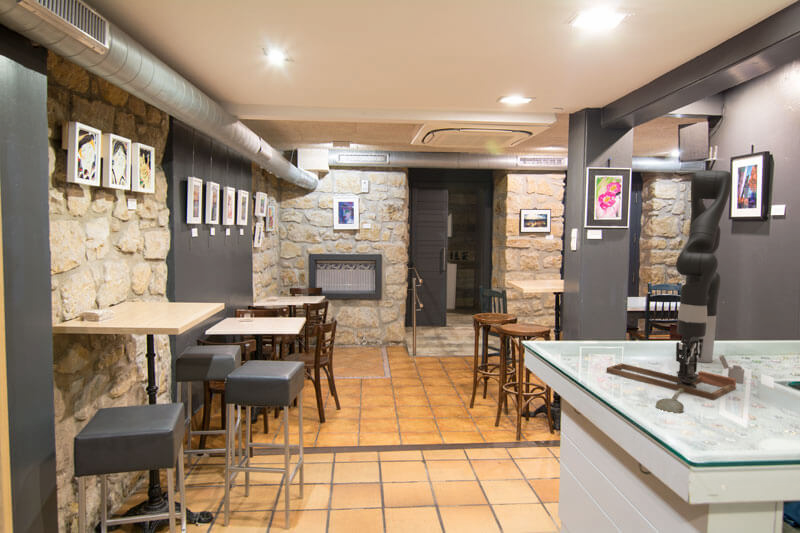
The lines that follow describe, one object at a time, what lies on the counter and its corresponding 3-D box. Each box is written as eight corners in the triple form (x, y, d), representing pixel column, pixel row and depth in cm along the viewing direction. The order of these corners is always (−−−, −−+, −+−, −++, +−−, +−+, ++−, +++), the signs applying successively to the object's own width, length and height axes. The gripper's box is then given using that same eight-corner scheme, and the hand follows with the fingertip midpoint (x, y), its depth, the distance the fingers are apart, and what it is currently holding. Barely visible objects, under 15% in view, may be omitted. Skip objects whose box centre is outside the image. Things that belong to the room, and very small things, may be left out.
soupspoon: (652, 413, 135) (680, 420, 131) (653, 401, 135) (681, 408, 131) (668, 390, 152) (693, 396, 148) (670, 379, 152) (695, 385, 148)
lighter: (743, 382, 162) (745, 357, 162) (743, 383, 161) (745, 359, 160) (717, 378, 166) (719, 354, 166) (716, 379, 165) (718, 355, 164)
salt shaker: (700, 389, 151) (704, 349, 150) (679, 387, 152) (682, 347, 151) (693, 383, 156) (696, 345, 155) (672, 381, 157) (676, 343, 156)
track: (632, 364, 180) (632, 355, 180) (735, 388, 155) (736, 379, 155) (606, 372, 168) (607, 363, 168) (713, 400, 144) (714, 389, 144)
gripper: (688, 315, 160) (684, 367, 161) (668, 319, 151) (664, 374, 152) (715, 319, 154) (710, 373, 155) (695, 323, 145) (691, 381, 146)
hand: (687, 373), depth 154 cm, fingers closed on salt shaker, 6 cm apart
